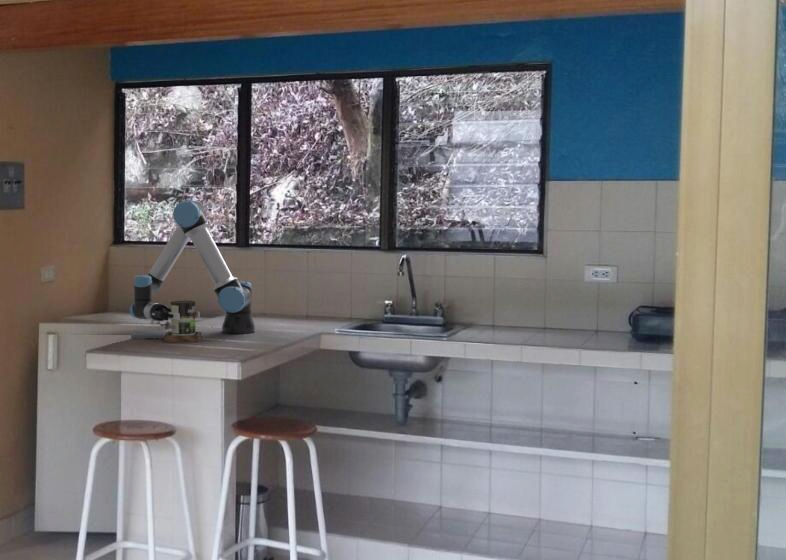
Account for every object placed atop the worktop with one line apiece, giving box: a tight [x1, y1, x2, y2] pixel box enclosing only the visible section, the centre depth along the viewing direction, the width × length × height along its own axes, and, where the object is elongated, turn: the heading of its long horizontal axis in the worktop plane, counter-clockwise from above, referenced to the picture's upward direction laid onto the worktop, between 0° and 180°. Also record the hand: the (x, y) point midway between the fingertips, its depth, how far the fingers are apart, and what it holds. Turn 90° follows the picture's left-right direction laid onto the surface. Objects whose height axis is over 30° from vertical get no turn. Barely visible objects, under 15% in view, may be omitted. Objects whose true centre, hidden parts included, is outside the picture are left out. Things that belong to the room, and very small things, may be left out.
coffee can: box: [170, 300, 197, 335], centre depth 391 cm, size 10×10×14 cm
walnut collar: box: [163, 331, 203, 343], centre depth 392 cm, size 14×14×2 cm
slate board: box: [130, 330, 167, 340], centre depth 399 cm, size 13×13×2 cm
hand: (189, 315), depth 389 cm, fingers closed on coffee can, 10 cm apart
